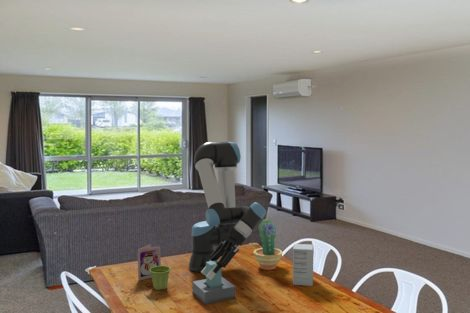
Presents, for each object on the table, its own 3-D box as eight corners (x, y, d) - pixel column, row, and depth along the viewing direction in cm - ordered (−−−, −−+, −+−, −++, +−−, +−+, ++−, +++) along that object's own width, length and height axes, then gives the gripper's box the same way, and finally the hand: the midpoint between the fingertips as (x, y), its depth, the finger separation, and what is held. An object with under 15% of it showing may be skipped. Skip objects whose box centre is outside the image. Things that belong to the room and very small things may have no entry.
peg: (206, 284, 182) (205, 262, 182) (216, 282, 184) (216, 260, 184) (210, 288, 178) (210, 265, 177) (221, 286, 180) (221, 263, 179)
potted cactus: (248, 269, 214) (248, 221, 213) (258, 260, 228) (258, 215, 227) (278, 273, 208) (277, 223, 207) (286, 264, 222) (286, 217, 221)
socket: (192, 292, 185) (192, 281, 185) (221, 286, 191) (221, 276, 191) (204, 304, 172) (204, 292, 172) (235, 297, 179) (235, 286, 178)
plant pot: (174, 285, 194) (174, 266, 193) (164, 292, 185) (164, 273, 185) (156, 282, 197) (156, 264, 196) (145, 290, 188) (145, 271, 188)
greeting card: (139, 281, 200) (138, 250, 198) (133, 276, 206) (132, 246, 205) (161, 276, 206) (160, 246, 205) (155, 272, 212) (155, 242, 211)
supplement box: (312, 286, 191) (313, 249, 190) (292, 285, 193) (292, 248, 192) (313, 279, 200) (313, 244, 199) (293, 277, 202) (293, 243, 201)
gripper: (255, 243, 179) (220, 288, 172) (235, 234, 195) (203, 274, 189) (243, 232, 176) (208, 277, 170) (225, 224, 192) (192, 265, 186)
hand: (205, 276), depth 179 cm, fingers closed on peg, 5 cm apart
